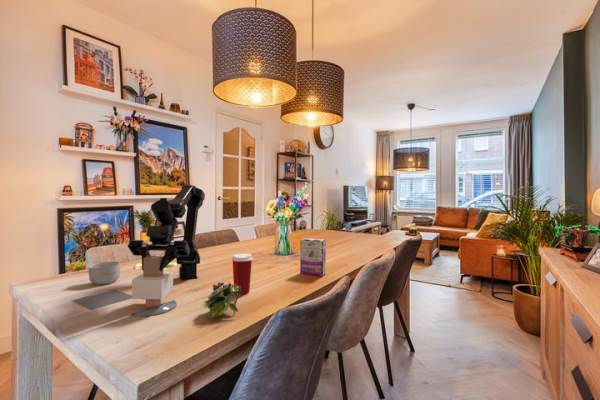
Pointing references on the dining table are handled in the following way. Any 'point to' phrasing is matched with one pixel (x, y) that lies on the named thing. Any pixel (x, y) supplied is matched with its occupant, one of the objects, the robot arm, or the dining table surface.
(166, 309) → the grey disc
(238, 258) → the paper cup
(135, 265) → the cloth
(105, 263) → the teacup
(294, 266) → the dining table surface
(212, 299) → the green leafy cluster
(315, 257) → the candy bar box
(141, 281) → the white brown stepped block
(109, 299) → the mat
